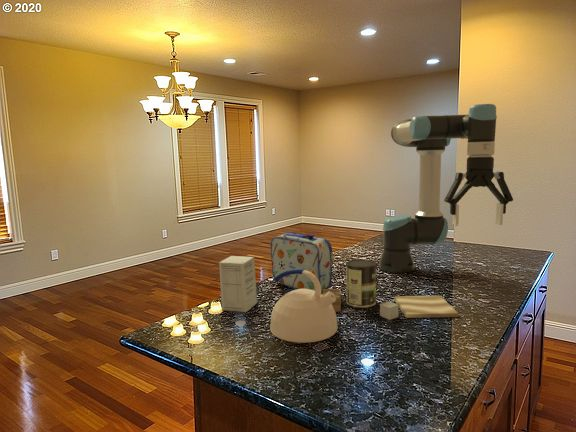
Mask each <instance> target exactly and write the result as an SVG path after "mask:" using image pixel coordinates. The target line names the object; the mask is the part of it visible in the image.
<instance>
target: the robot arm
mask: <svg viewBox="0 0 576 432" xmlns="http://www.w3.org/2000/svg"><path fill="white" fill-rule="evenodd" d="M497 117H498V115H497V106H496V105H495V104H493V103H479V104H473V105H470V107H469V110H468V114H448V115H447V114H446V115H419V116H417V115H416V116H413V117H412V118H409V119H404V120H401V121H398V122H396V123H395V124H393V126H392V128H391V131H390V136H391V139H392V141H393V142H394V143H396V144H397V145H398V146H402V147H406V148H416V153H417V154H418V155H419V177H418V178H419V183H418V184H419V185H418V189H419V190H418V191H419V192H418V211H416V212H415V214H414V218H412V217H411V215H410V214H409V215H408V214H399V215H393V216H388V217H386V218H385V219H384V221H383V227H382V231H383V234H382V235H383V236H382V237H383V241H382V242H383V243H382V245H383V247H382V248H383V249H382V254H381V256H380V260H379V264H378V268H379V269H380V270H382V271H384V272H386V273H387V272H388V273H396V274H397V273H400V274H402V273H403V274H404V273H410V272H413V271H414V270H415V262H414V259H413V256H412V255H413V254H412V253H411V246H421V245H422V246H424V245H426V246H427V245H429V246H430V245H431V246H434V245H441V244H443V243H445V240H446V238H447V237H448V232H449V225H448V219H447V218H445V217H444V214H443V213H442V211H440V210H441V209H440V207H441V206H440V205H441V175H442V174H441V173H442V171H441V169H442V154H444V152H445V151H446V147H448V146H449V145H450V144H451V140H452V139H462V140H463V139H467V151H466V155H467V156H468V157H467V158H466V172H465V173H464V172H456V174H455V178H454V180H453V182H452V184H451V186H450V188H449V190H448V191H447V194H446V195H445V197H444V200H443V202H445V203H448V204H449V208H450V209H449V213H450V215H452V225H453V226H456V227H458V226H459V220H460V219H459V217H460V216H459V214H460V205H459V201H460V200H461V199H462V198H463V197H464V196H465V195H466V194H467V192H468V191H469V190H470V189H472V188H480V187H483V188H487V189H489V191H490V192H491V193H492V195H493V196H494V197H495V198H496V199H497V201H498V202H497V203H496V207H495V208H496V210H495V211H496V212H495V224H497V225H499V226H503V224H504V223H503V221H504V219H503V218H504V215H505V214H506V212H507V205H508V204H509V203H510V202H513V201H514V198H513V195H512V194H511V191H510V189H509V187H508V184H507V182H506V180H505V173H504V171H496V172H495V171H494V166H495V165H494V164H495V163H494V162H495V158H494V157H493V155H494V154H495V145H496V144H495V143H496V142H495V140H496V127H497ZM464 179H466V182H464V184H463V186H462V187H461V188H460V189H459V187H460V185H461V183H462V182H463V180H464ZM493 179H496V183H497V184H498V187H499V188H500V190H499V188H498V187H496V185H495V183H494V182H493V181H492V180H493ZM458 189H459V191H458Z"/></svg>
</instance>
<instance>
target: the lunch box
mask: <svg viewBox="0 0 576 432" xmlns="http://www.w3.org/2000/svg"><path fill="white" fill-rule="evenodd" d="M270 258H271V270H272V271H271V272H272V276H273V279H274V278H275V277H276V276H277V275H279V274H281V273H283V272H286V271H290V270H297V269H300V270H306V271H309V272H311V273H313V274H314V275H315V276H316V277H317V279H318V280H319V282H320V285H321V291H323V289H331V287H332V286H331V285H332V282H333V281H332V280H333V265H334V263H335V262H336V260H335V256H334V254H333V246H332V244H331V242H330V241H329V240H327V238H324V237H321V236H320V237H319V236H315V235H314V234H307V235H306V234H302V233H298V232H290V231H288V232H284V233H283V234H279V235H277V236H273V237H272V238H271V240H270ZM276 282H277V283H278V284H281V285H285V287H286V286H287V287H289V288H290V289H292V290H297V289H310V290H314V291H315V286H314V283H313V282H312V280H311V279H310V278H309V277H308V276H306V275H304V274H291V275H287V276H285V277H283V278H281V279H280V280H279V281H276Z"/></svg>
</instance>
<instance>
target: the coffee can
mask: <svg viewBox="0 0 576 432" xmlns="http://www.w3.org/2000/svg"><path fill="white" fill-rule="evenodd" d="M345 278H346V280H345V281H346V284H345V287H346V288H345V290H346V291H345V293H346V301H345V303H346V304H347V306H351V307H354V308H361V309H362V308H371V307H373V306H375V305H376V304H377V299H376V298H377V289H376V288H377V286H376V285H377V262H376V261H375V260H374V261H373V260H371V259H370V260H369V259H361V258H360V259H350V260H348V261H346V262H345Z"/></svg>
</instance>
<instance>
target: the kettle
mask: <svg viewBox="0 0 576 432" xmlns="http://www.w3.org/2000/svg"><path fill="white" fill-rule="evenodd" d="M291 274H304V275H306V276H308V277H309V278H310V279H311V280H312V282H313V283H314V286H315V291H314V290H310V289H292V288H288V289H286V290H285V291H284V294H283V296H281V297H280V298H279V300H278V301H276V303H275V305H274V307H273V309H272V310H271V311H272V312H271V314H270V327H269V329H270V330H269V331H270V332H271V333H272V335H273V336H275V337H277V338H278V339H280V340H282V341H286V342H290V343H291V342H292V343H299V344H301V343H302V344H305V343H315V342H321V341H324V340H327V339H329V338H330V337H332V336H334V335H335V334H336V333H337V331H338V329H339V328H338V321H337V312H335V311H334V308H333V306H332V303H333V302H335V301H336V297H335V295H334V294H333V293H332V292H327V294H325V295H324V296H323V295H322V294H323V293H322V290H321V285H320V282H319V280H318V279H317V277H316V276H315V275H314V274H313V273H311V272H309V271H306V270H300V269H297V270H290V271H286V272H283V273H281V274H279V275H277V276H276V277H275V278H274V277H273V281H274V282H277V281H279V280H280V279H281V278H283V277H285V276H287V275H291Z"/></svg>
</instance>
